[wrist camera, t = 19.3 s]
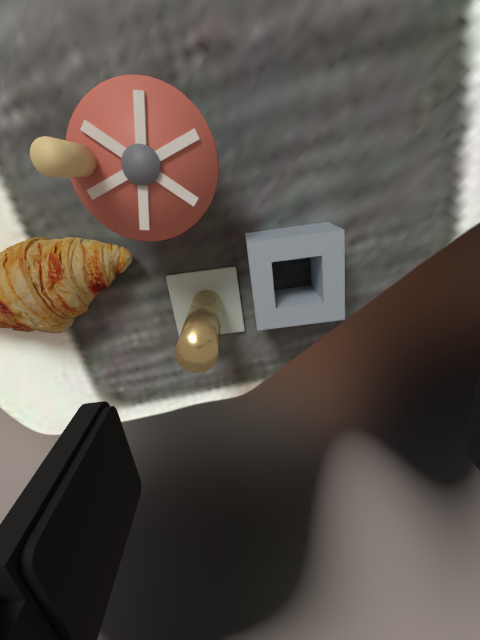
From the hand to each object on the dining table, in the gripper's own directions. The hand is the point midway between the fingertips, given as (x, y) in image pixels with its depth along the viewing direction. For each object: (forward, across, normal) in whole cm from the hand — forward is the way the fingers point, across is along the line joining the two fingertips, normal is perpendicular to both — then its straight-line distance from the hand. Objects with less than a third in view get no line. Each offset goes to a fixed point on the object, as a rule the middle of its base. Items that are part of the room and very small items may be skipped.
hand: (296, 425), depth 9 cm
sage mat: (+30, +6, +7) cm, 32 cm away
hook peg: (+30, +6, +7) cm, 31 cm away
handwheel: (+24, +8, -8) cm, 27 cm away
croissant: (+31, +23, +2) cm, 39 cm away
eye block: (+30, -4, +4) cm, 31 cm away
